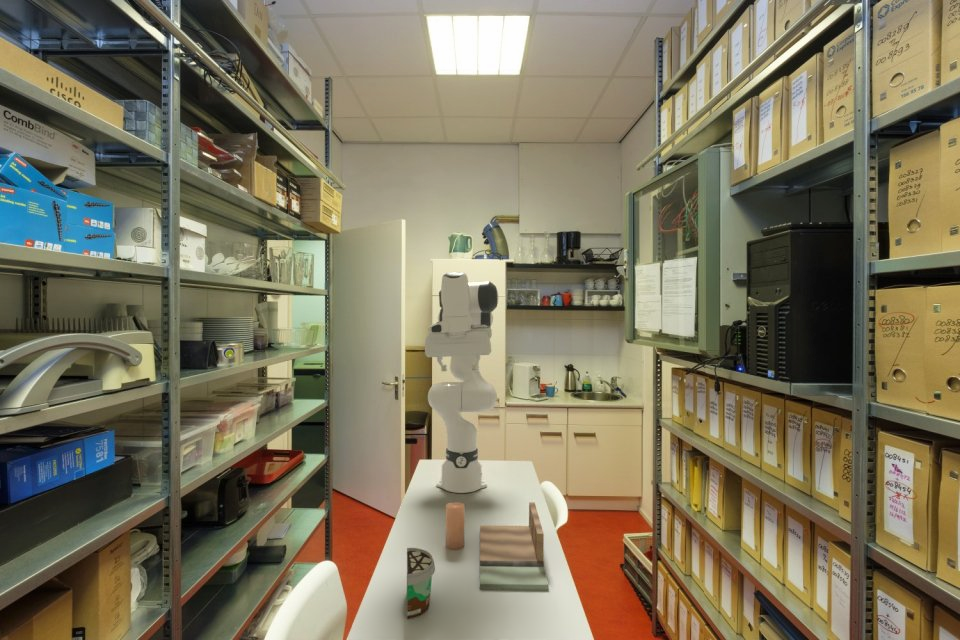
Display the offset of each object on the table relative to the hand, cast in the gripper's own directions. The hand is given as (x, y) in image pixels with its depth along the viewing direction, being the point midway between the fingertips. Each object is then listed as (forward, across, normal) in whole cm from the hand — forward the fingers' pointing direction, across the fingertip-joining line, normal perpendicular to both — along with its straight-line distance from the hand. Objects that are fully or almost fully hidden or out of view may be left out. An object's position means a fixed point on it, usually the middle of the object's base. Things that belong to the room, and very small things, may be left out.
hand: (459, 370), depth 144 cm
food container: (+44, +6, +44) cm, 63 cm away
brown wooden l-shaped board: (+47, -13, +22) cm, 53 cm away
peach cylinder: (+46, +2, +16) cm, 49 cm away
